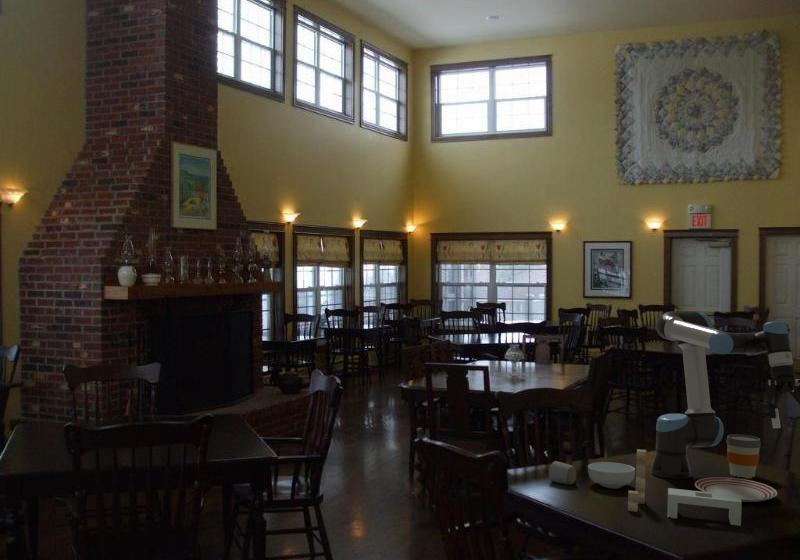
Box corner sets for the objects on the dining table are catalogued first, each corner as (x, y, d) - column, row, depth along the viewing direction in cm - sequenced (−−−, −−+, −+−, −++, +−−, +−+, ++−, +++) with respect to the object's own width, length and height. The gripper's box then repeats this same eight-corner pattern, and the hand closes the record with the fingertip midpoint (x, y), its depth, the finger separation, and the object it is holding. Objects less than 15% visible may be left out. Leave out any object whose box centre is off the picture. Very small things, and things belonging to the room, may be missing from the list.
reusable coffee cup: (766, 479, 316) (767, 440, 316) (736, 479, 314) (737, 441, 314) (747, 471, 329) (749, 434, 328) (719, 471, 327) (720, 434, 326)
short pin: (628, 508, 272) (628, 490, 272) (637, 509, 271) (638, 491, 271) (627, 510, 269) (628, 492, 269) (637, 511, 268) (637, 493, 268)
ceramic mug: (568, 487, 296) (569, 466, 296) (548, 483, 302) (549, 462, 302) (581, 482, 305) (581, 461, 305) (561, 478, 310) (562, 458, 310)
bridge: (667, 510, 270) (668, 488, 270) (738, 518, 264) (739, 495, 263) (667, 517, 263) (668, 494, 263) (740, 525, 256) (741, 502, 256)
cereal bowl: (613, 478, 312) (613, 459, 312) (644, 489, 297) (644, 470, 297) (578, 482, 304) (578, 463, 304) (608, 493, 289) (608, 474, 289)
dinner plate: (773, 511, 273) (773, 502, 273) (688, 498, 286) (688, 489, 286) (780, 493, 297) (780, 484, 297) (701, 481, 310) (701, 473, 310)
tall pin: (635, 501, 281) (637, 449, 281) (644, 501, 280) (646, 450, 280) (635, 503, 278) (636, 450, 278) (644, 504, 277) (645, 451, 277)
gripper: (762, 363, 274) (772, 427, 269) (817, 364, 283) (828, 425, 278) (745, 367, 281) (755, 429, 275) (800, 367, 290) (810, 427, 285)
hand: (792, 427), depth 277 cm, fingers open, 13 cm apart
